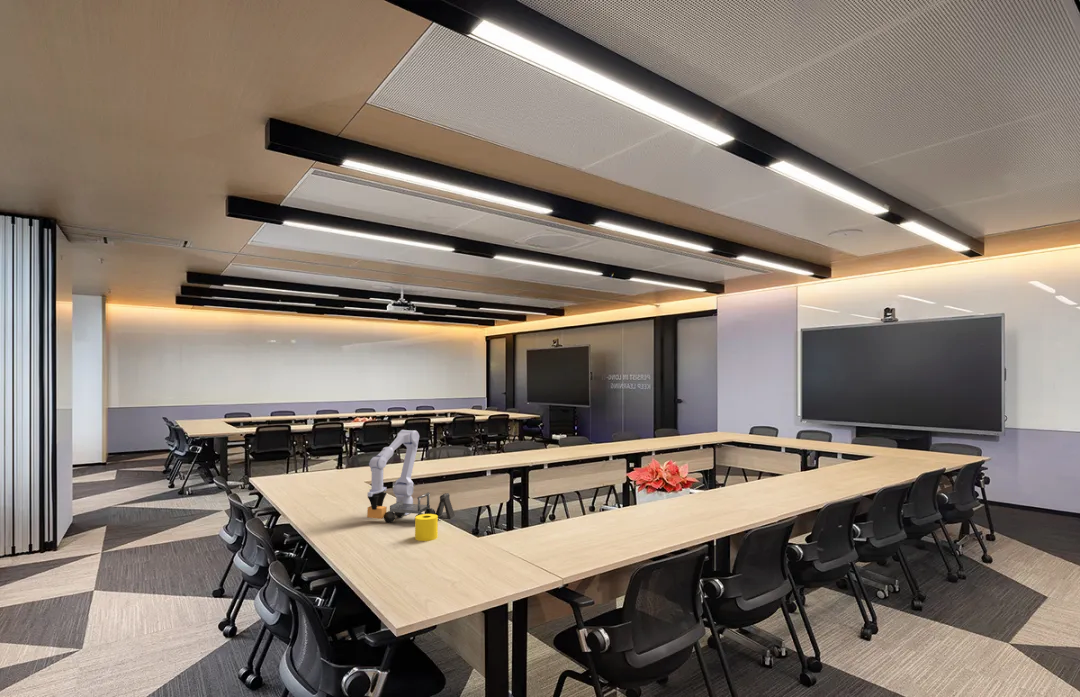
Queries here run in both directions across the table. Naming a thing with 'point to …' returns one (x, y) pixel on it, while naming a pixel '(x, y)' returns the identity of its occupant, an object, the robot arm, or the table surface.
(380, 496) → the robot arm
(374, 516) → the orange rectangular block
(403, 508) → the trolley
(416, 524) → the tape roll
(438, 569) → the table surface
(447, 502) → the grey a-frame stand
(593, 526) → the table surface
